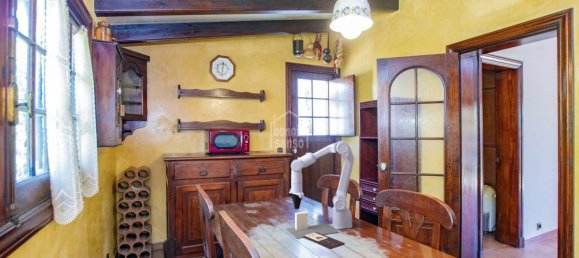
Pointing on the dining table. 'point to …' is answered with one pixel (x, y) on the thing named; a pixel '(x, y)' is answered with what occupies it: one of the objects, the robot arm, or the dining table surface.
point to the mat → (312, 230)
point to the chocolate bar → (323, 240)
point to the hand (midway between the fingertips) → (296, 208)
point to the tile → (301, 220)
